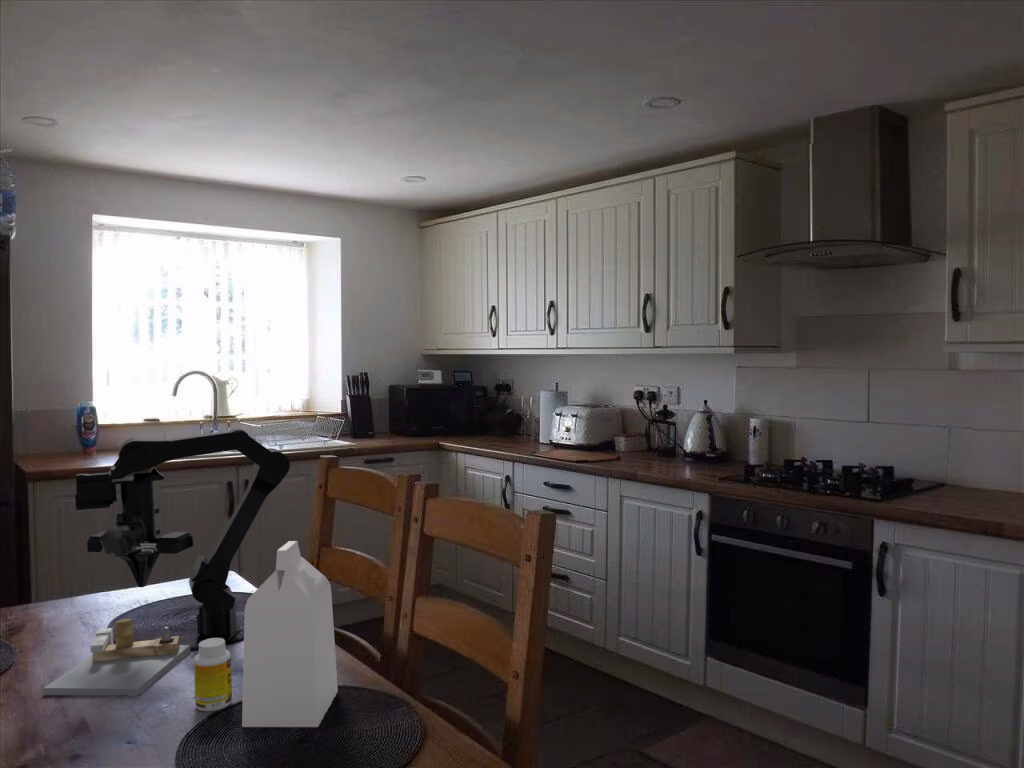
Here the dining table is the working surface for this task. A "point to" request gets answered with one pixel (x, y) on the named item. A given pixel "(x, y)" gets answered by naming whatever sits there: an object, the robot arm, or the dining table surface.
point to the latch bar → (134, 645)
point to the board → (114, 675)
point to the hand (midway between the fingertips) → (142, 586)
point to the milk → (289, 646)
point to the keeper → (102, 639)
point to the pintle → (166, 634)
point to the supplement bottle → (212, 675)
